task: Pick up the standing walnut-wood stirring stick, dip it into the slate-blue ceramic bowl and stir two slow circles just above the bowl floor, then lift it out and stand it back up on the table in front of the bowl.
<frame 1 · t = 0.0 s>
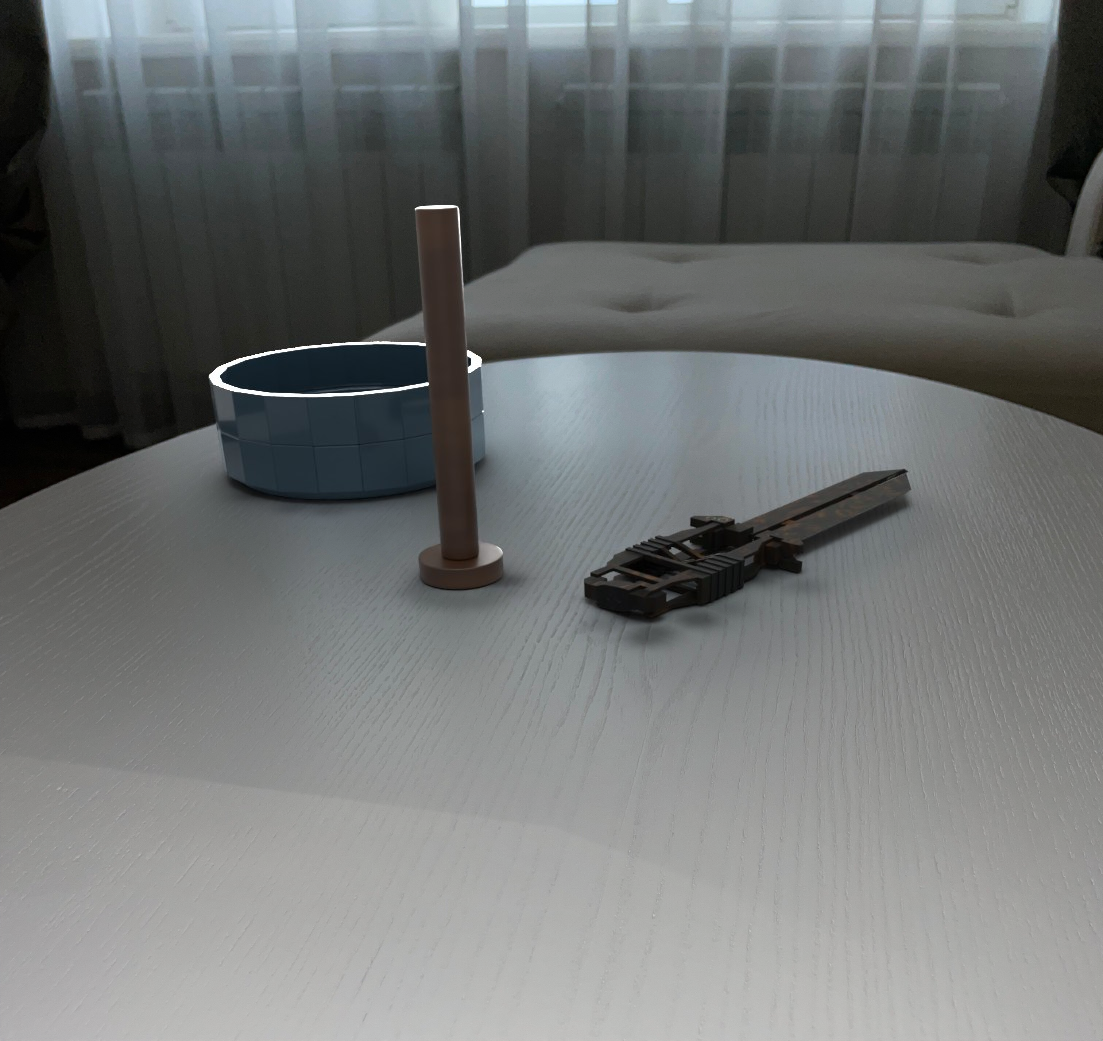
stirrer: (461, 574, 55), on the table
bowl: (357, 464, 73), on the table
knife: (775, 541, 58), on the table
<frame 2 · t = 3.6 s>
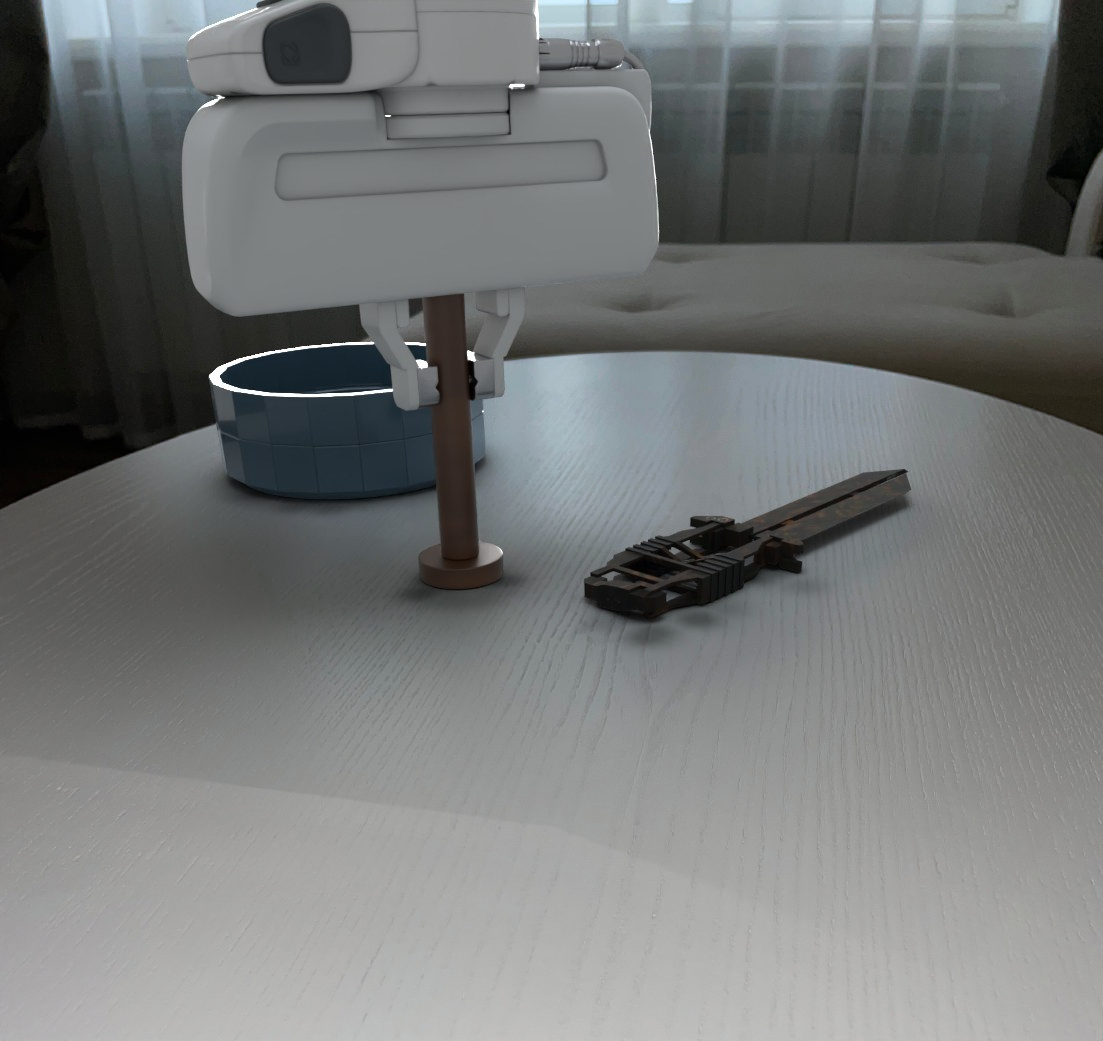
hand: (449, 401, 51), 8 cm above the table, tool pointing down, fingers closed on stirrer, 2 cm apart
stirrer: (461, 574, 55), on the table, touching gripper
everything else where it was.
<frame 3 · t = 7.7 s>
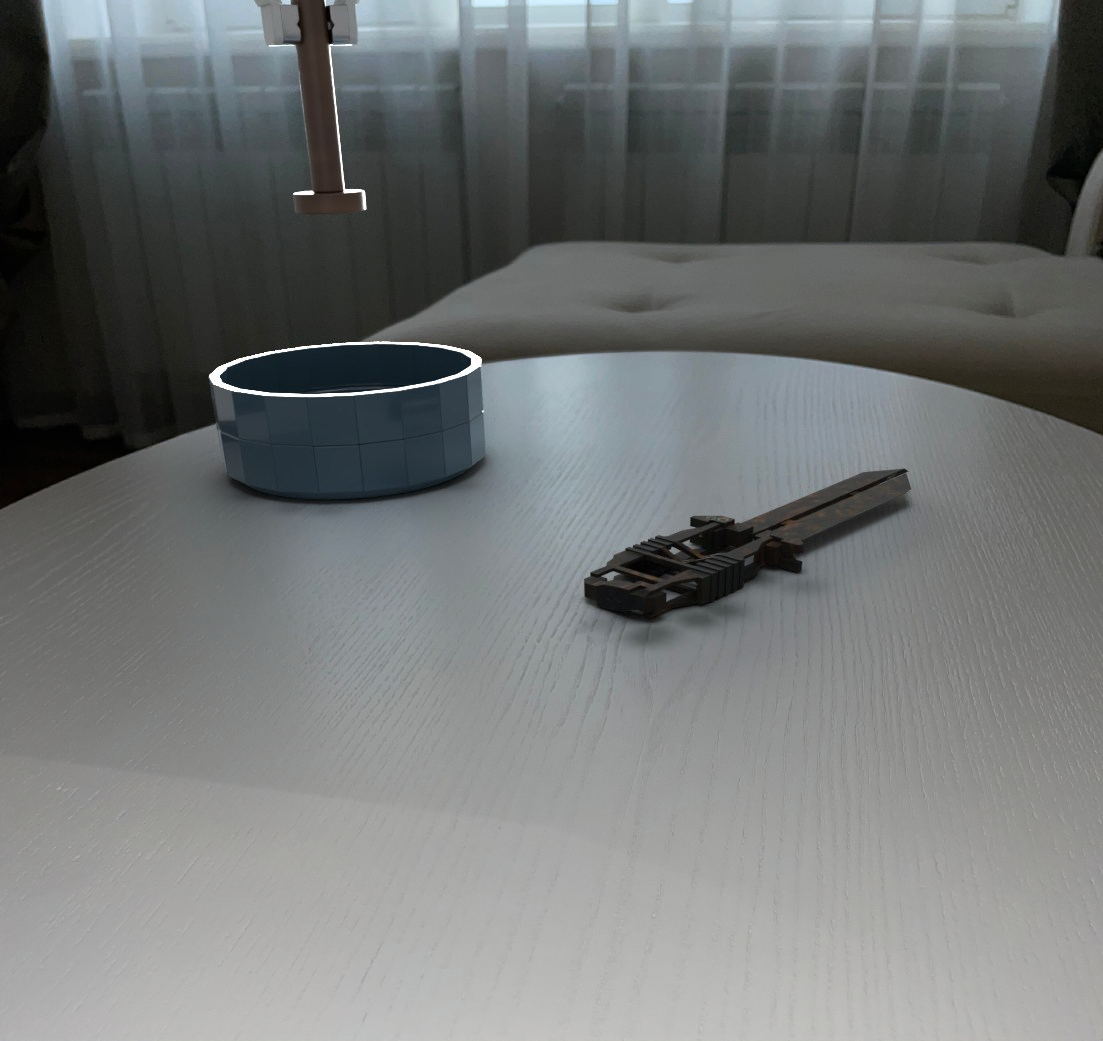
hand: (312, 45, 61), 23 cm above the table, tool pointing down, fingers closed on stirrer
stirrer: (330, 211, 65), point 15 cm above the table, touching gripper
everything else where it was.
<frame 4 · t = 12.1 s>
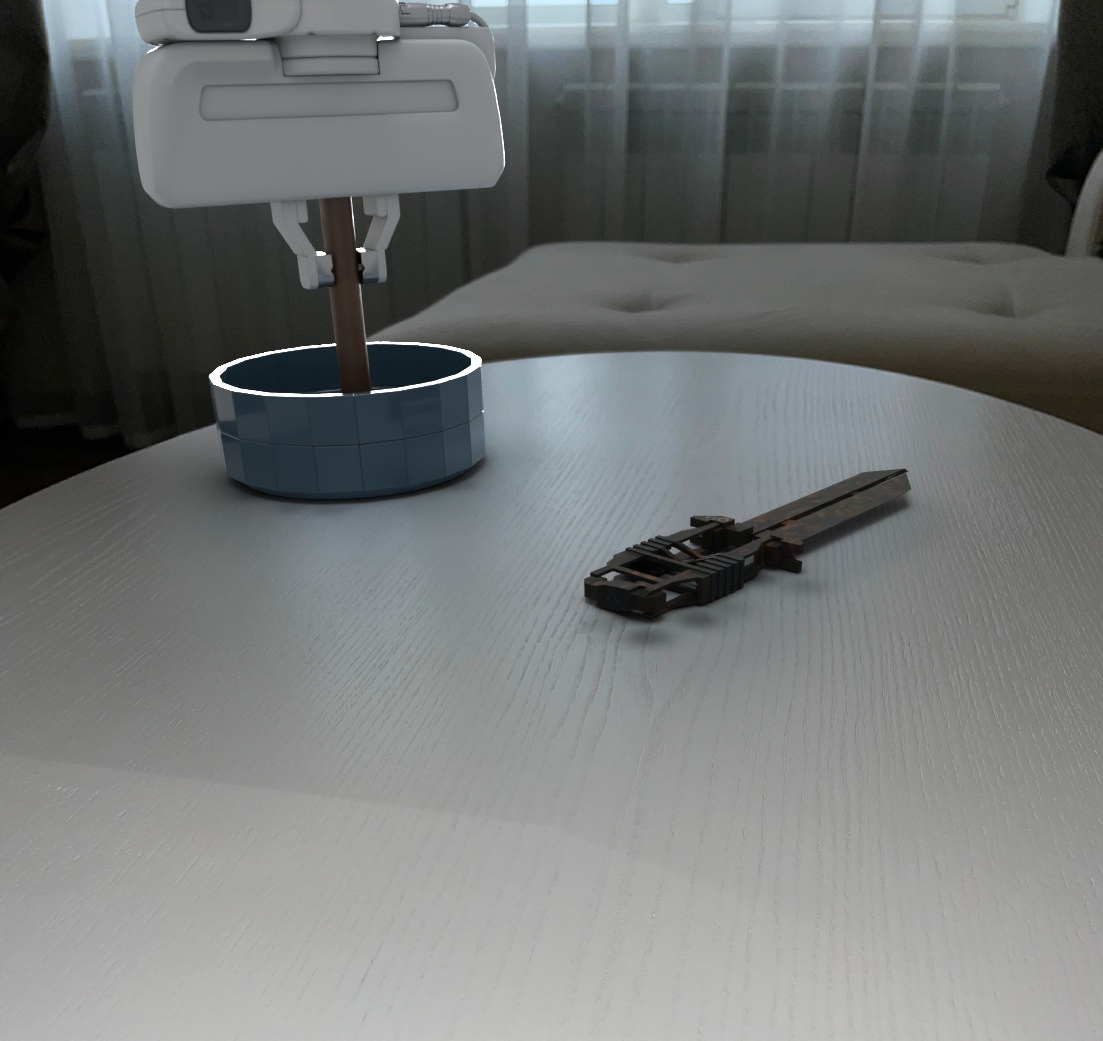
hand: (344, 284, 66), 11 cm above the table, tool pointing down, fingers closed on stirrer
stirrer: (360, 425, 70), point 3 cm above the table, touching gripper
everything else where it was.
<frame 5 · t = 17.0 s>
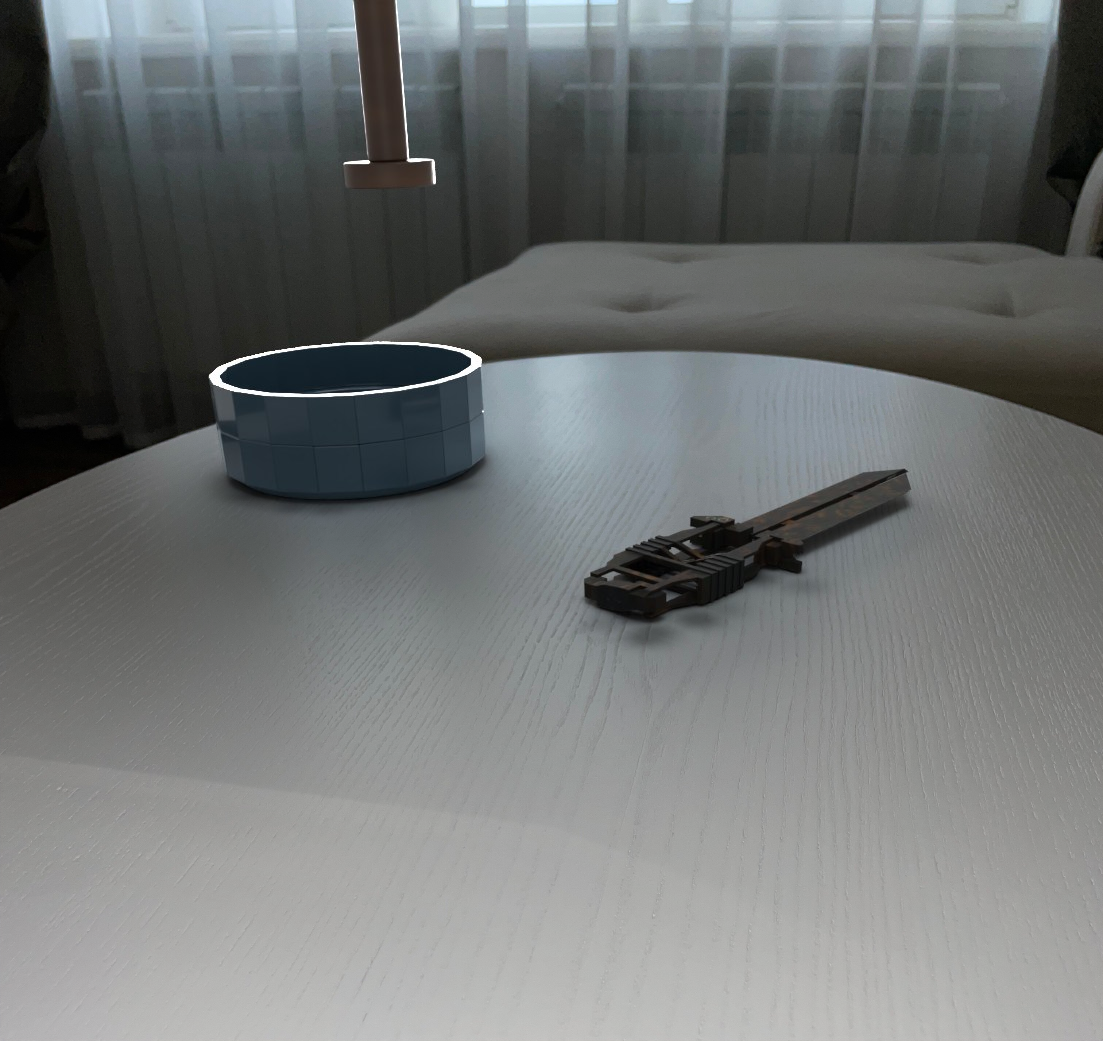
stirrer: (390, 185, 51), point 17 cm above the table, touching gripper
everything else where it was.
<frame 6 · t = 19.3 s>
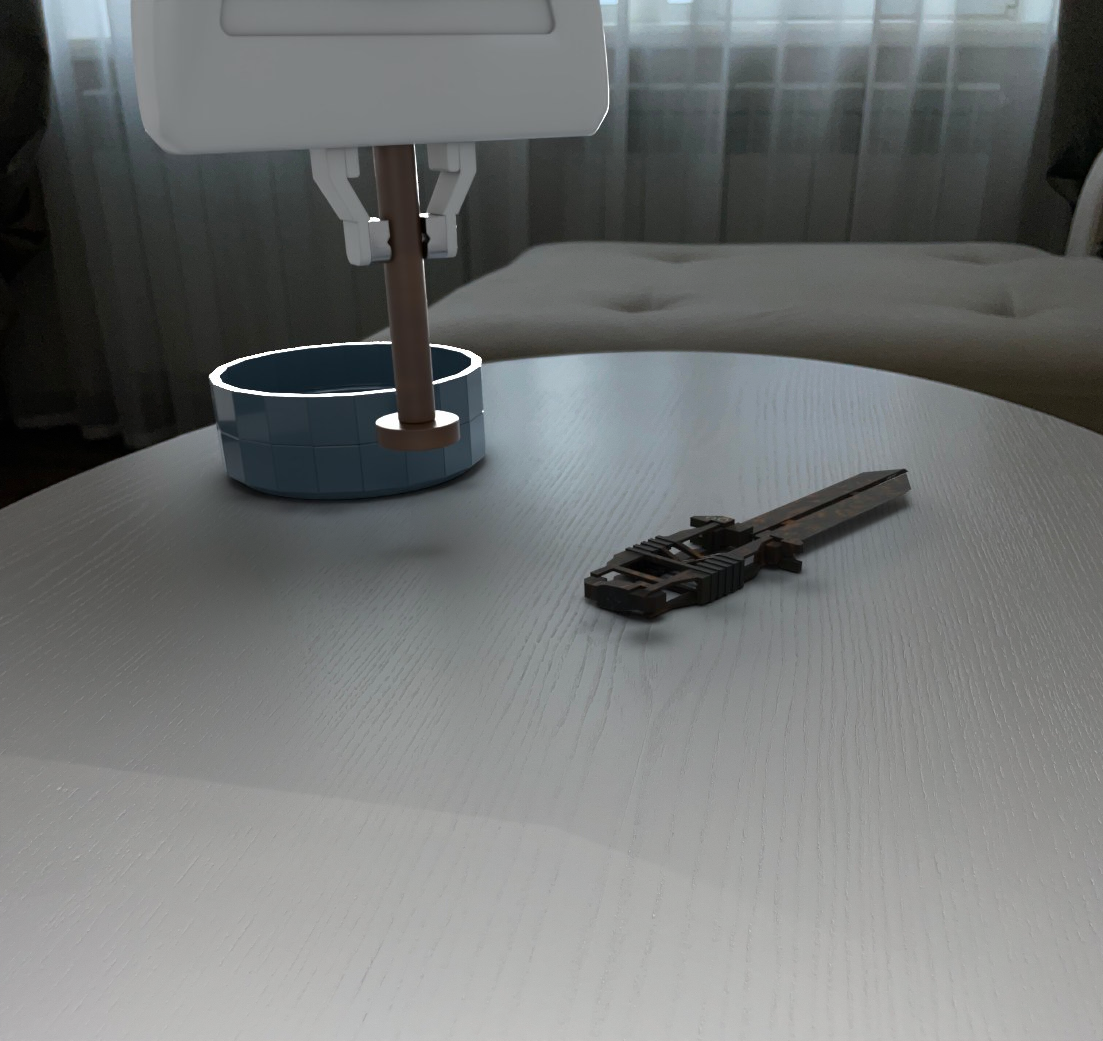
hand: (402, 260, 52), 14 cm above the table, tool pointing down, fingers closed on stirrer
stirrer: (418, 440, 56), point 6 cm above the table, touching gripper
everything else where it was.
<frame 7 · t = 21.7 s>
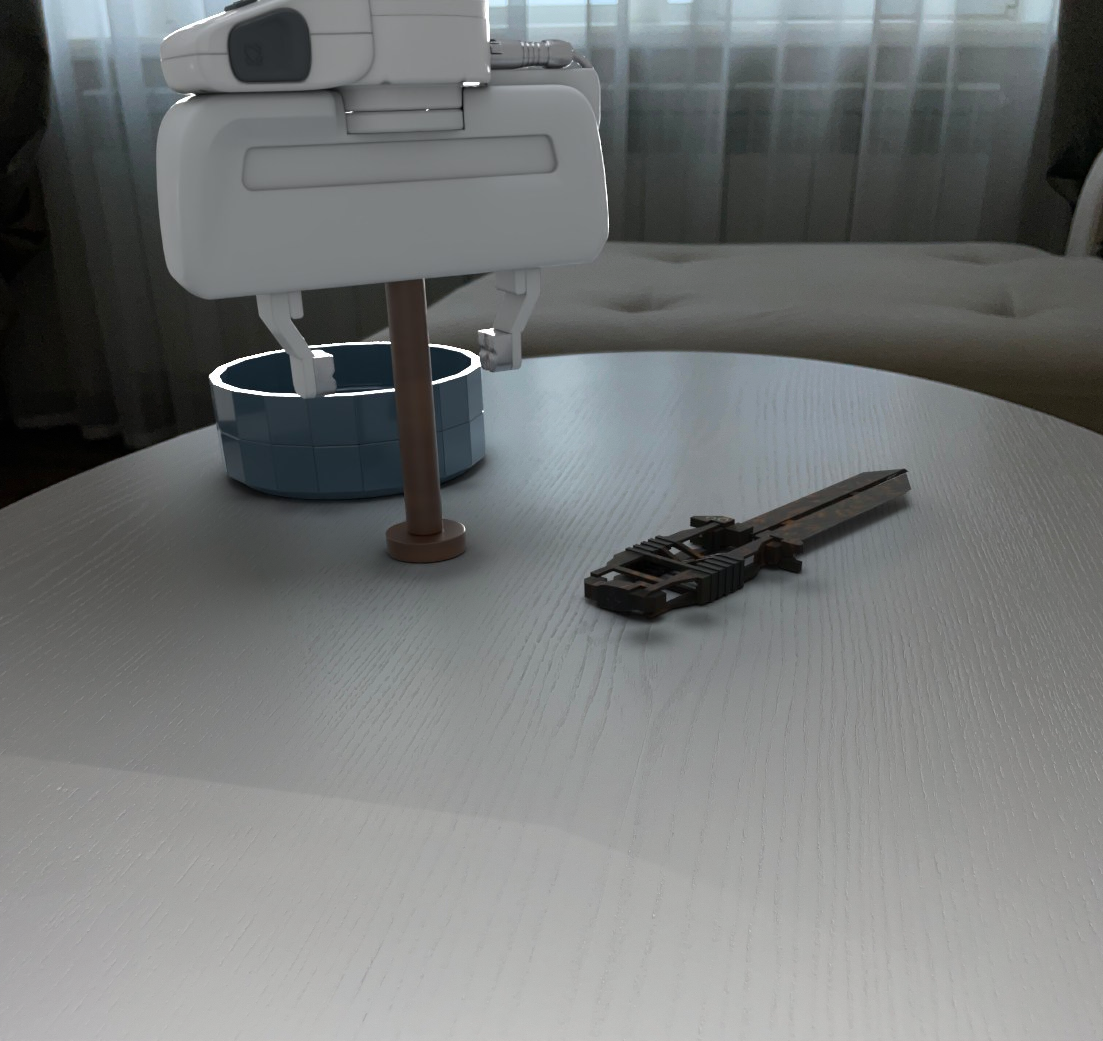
hand: (411, 381, 54), 8 cm above the table, tool pointing down, fingers open, 8 cm apart
stirrer: (426, 549, 58), on the table
everything else where it was.
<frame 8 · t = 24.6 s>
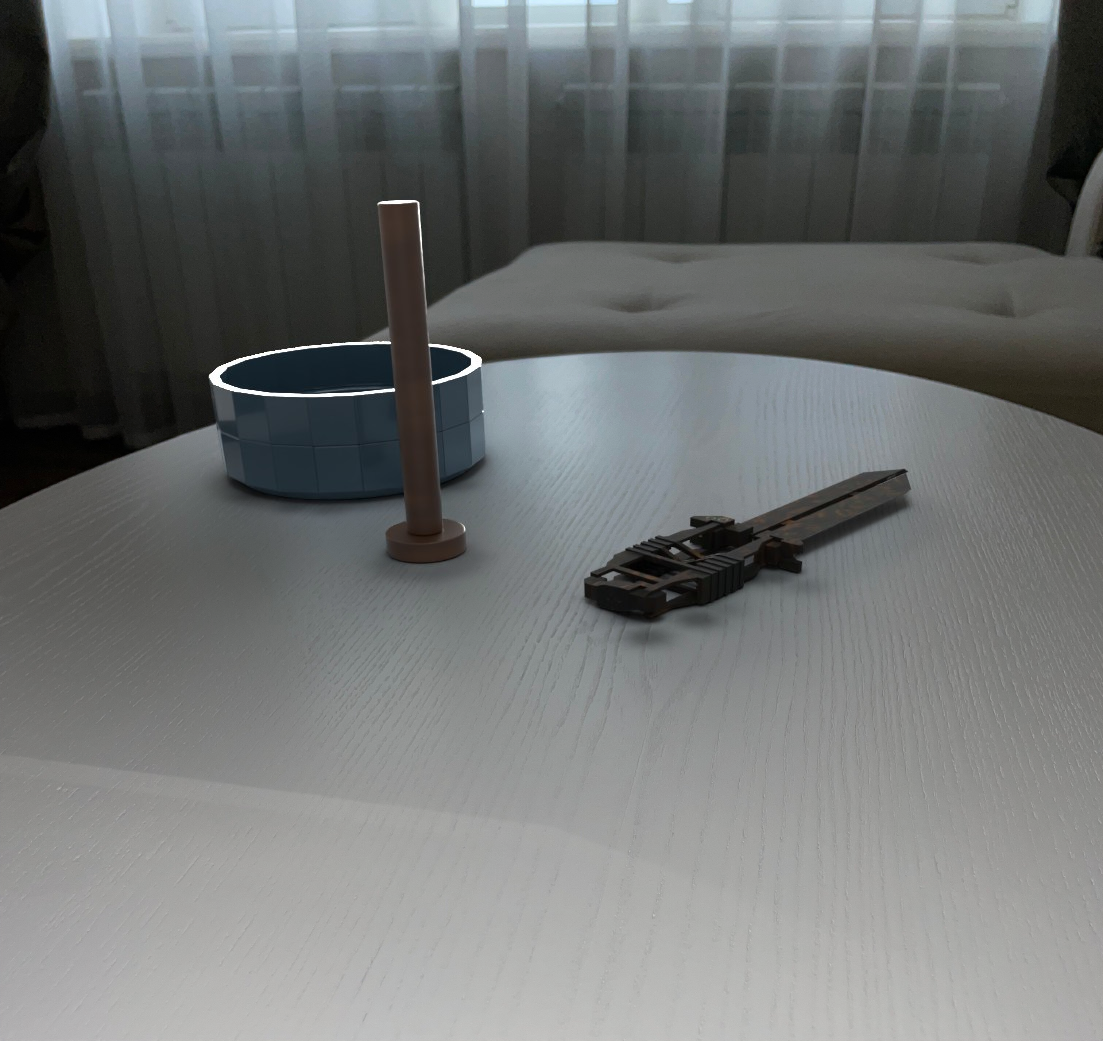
nothing on the table moved.
at the end: stirrer 0.1 cm from the target spot on the table beside the bowl, on the table; stirrer tilted 0°; the gripper is holding nothing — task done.
